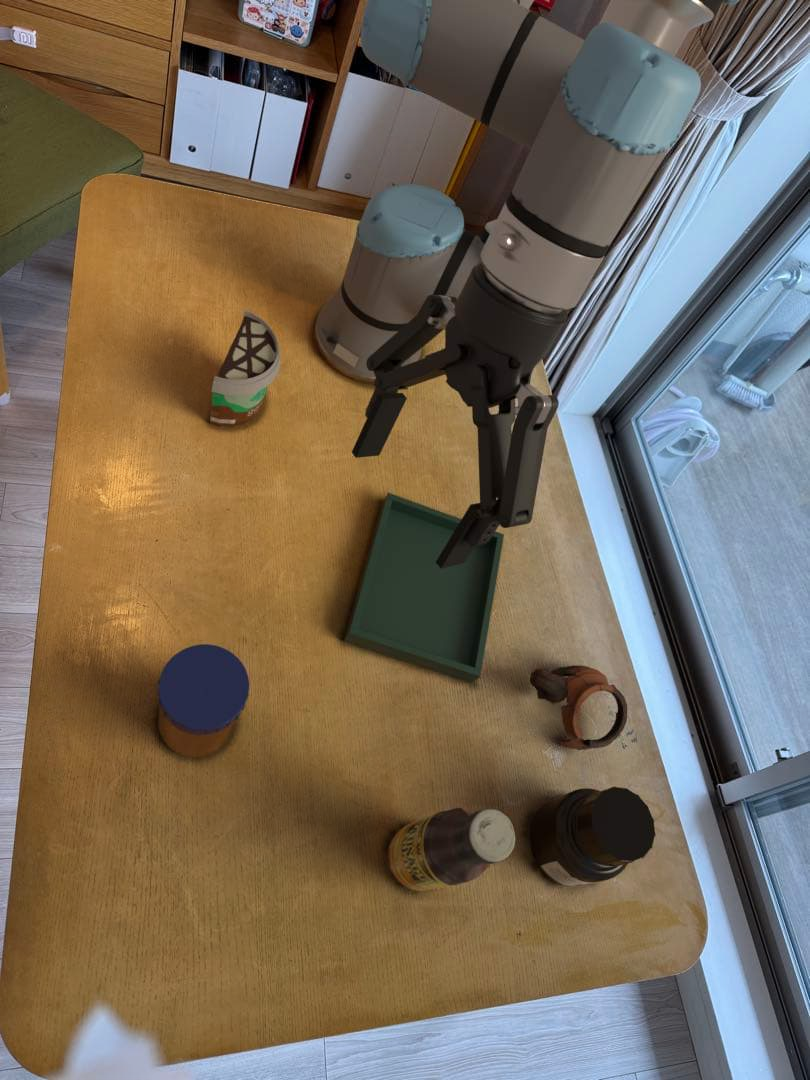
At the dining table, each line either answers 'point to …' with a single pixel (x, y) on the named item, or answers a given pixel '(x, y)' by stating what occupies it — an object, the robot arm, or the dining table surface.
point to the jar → (191, 739)
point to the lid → (203, 689)
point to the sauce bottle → (449, 848)
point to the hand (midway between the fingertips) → (405, 506)
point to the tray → (424, 593)
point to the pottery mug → (578, 701)
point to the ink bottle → (590, 835)
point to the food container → (245, 373)
